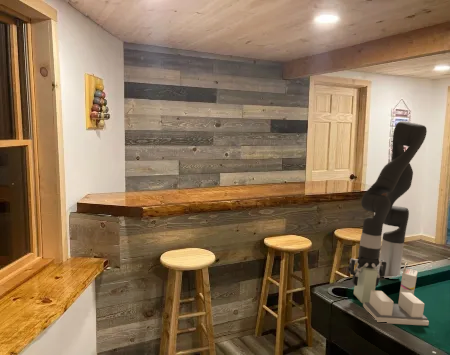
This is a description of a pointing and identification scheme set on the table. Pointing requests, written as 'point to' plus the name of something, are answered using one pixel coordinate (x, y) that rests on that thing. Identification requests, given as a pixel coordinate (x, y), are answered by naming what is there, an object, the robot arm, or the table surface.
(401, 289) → the ink cartridge box
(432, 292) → the table surface
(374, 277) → the block
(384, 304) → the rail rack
